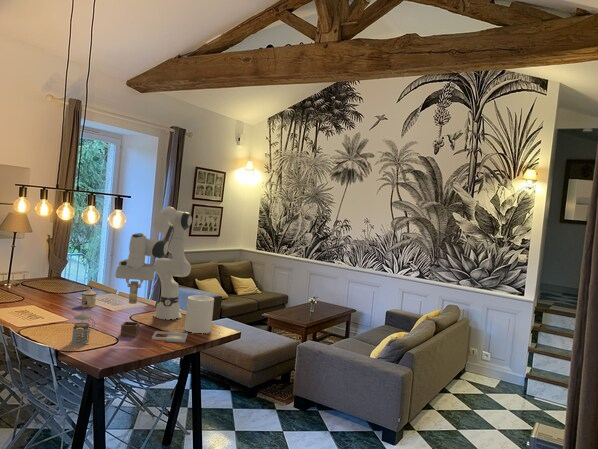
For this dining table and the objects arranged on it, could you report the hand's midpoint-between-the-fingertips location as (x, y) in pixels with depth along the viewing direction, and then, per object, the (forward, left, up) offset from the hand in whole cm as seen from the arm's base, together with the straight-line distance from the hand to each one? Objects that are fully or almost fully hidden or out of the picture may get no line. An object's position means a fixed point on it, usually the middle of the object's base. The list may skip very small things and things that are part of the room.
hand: (134, 287), depth 244 cm
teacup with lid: (-61, -40, -28) cm, 78 cm away
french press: (+16, -20, -28) cm, 38 cm away
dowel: (0, 0, -9) cm, 9 cm away
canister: (-20, +36, -28) cm, 50 cm away
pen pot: (0, 0, -28) cm, 28 cm away
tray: (0, +22, -28) cm, 35 cm away
